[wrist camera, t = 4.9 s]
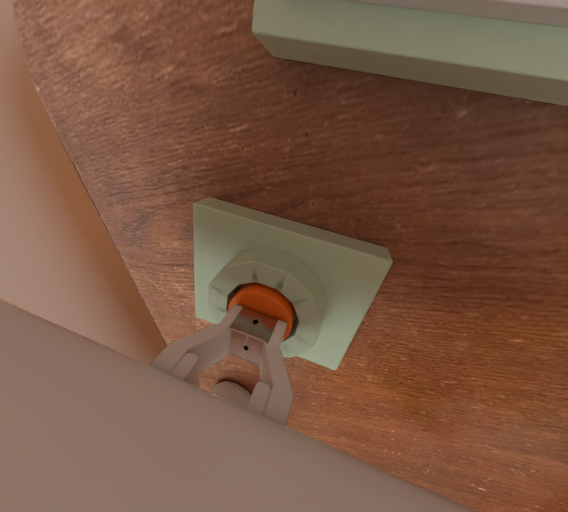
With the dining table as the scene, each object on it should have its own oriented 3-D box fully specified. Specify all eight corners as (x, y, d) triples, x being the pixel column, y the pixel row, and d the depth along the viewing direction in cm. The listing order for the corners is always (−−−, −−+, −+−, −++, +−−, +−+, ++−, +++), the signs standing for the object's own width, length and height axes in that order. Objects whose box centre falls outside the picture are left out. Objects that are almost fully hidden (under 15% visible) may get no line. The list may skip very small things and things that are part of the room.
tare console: (207, 303, 18) (178, 334, 15) (209, 196, 13) (168, 210, 10) (337, 351, 16) (334, 398, 13) (388, 247, 12) (401, 282, 9)
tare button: (239, 311, 14) (226, 330, 13) (244, 266, 12) (230, 282, 11) (291, 330, 14) (283, 352, 12) (304, 285, 12) (298, 306, 10)
